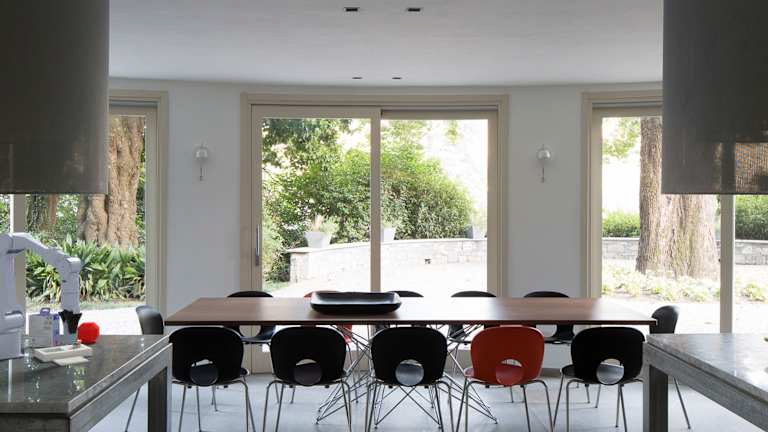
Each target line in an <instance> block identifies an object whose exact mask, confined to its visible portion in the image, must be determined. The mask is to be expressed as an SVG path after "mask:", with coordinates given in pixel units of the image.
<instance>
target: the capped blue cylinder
mask: <svg viewBox="0 0 768 432" xmlns="http://www.w3.org/2000/svg"><path fill="white" fill-rule="evenodd" d="M62 326H63V327H62V329H63V331H62V335H63V338H62V340H63V344H64V345H73V344H74V343H77V342H78V339H77V332H76V333H75V334H69V331H68V324H67V320H65V322H63V323H62Z"/></svg>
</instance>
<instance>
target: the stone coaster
mask: <svg viewBox="0 0 768 432" xmlns="http://www.w3.org/2000/svg"><path fill="white" fill-rule="evenodd" d="M89 361H90V360H89V359H87V358H85V357H81V356H77V357H70V358H62V359H54V360H53V361H52V362H53V363H55V364H56V365H59V366H62V367H64V366H71V365H77V364H83V363H84V364H85V363H89Z"/></svg>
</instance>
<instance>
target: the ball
mask: <svg viewBox="0 0 768 432" xmlns="http://www.w3.org/2000/svg"><path fill="white" fill-rule="evenodd" d="M100 330H101V329H100V326H99V325H98V324H97V323H96V322H94V321H84V322H82V323H81V324H79V325H78V328H77V339H78V340H82V343H83V344H93V343H94V342H95V341H96V340H97V339H98V338H99V337H100V336H101V333H100Z"/></svg>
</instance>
